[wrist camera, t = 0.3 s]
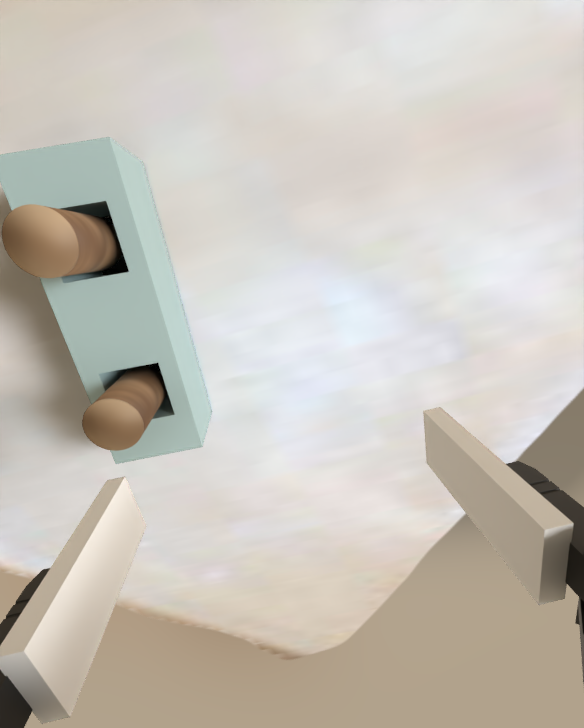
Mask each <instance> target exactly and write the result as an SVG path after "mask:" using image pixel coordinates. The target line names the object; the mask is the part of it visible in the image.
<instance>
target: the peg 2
mask: <svg viewBox="0 0 584 728" xmlns="http://www.w3.org/2000/svg"><path fill="white" fill-rule="evenodd" d="M166 395H167V389H166V386H165V383H164V379H163V376H162V374H161V373H160V372H159V371H157V370H156V369H154V368H152V367H148V366H138V367H133V368H131V369H129V370H128V371H126V372H125V373H124V374H123V375H122V376H121V377H120V378H119V379H118V380H117V381H116V382H115V383H114V384H113V385H112V386H111V387H110V388H108V389H107V390H106V391H105V392H104V393H103V394H102V395H101V396H100V397H99V398H98V399H97V400H96V401H95V402H94V403H93V404H92V405H91V406H90V407H89V408H88V409H87V410H86V411H85V413H84V415H83V420H82V425H83V429H84V432H85V434H86V435H87V437H88V438H89V439H90V440H91V441H92V442H93V443H94V444H96V445H97V446H99V447H101V448H104V449H107V450H114V451H119V450H125V449H128V448H130V447H132V446H133V445H135V444H136V443H137V442H138V441H139V440H140V438H141V436H142V435H143V433H144V431H145V430H146V428H147V426H148V425H149V423H150V422H151V420H152V418H153V417H154V415H155V413H156V412H157V410H158V408H159V407H160V405H161V404H162V402H163V400H164V399H165V397H166Z"/></svg>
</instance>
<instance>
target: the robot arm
mask: <svg viewBox="0 0 584 728" xmlns="http://www.w3.org/2000/svg"><path fill="white" fill-rule="evenodd" d="M423 414H424V429H425V444H426V459H427V464H428V465H429V467H430V468H431V469H432V470H433V472H434V473H435V474H436V475H437V477H438V478H439V479H440V481H441V482H442V483H443V484H444V486H445V487H446V488H447V489H448V491H449V492H450V493H451V494H452V496H453V497H454V498H455V500H456V501H457V502H458V503H459V505H460V506H461V507H462V508H463V510H464V511H465V512H466V514H467V515H468V516H469V517H470V518H471V520H472V521H473V522H474V523H475V525H476V526H477V527H478V529H479V530H480V531H481V533H482V534H483V535H484V536H485V538H486V539H487V540H488V541H489V543H490V544H491V545H492V546H493V548H494V549H495V550H496V552H497V553H498V554H499V555H500V557H501V558H502V559H503V560H504V562H505V563H506V564H507V566H508V567H509V568H510V569H511V570H512V572H513V573H514V574H515V576H516V577H517V578H518V580H519V581H520V582H521V583H522V585H523V586H524V587H525V588H526V590H527V591H528V592H529V593H530V595H531V596H532V597H533V599H534V600H535V601H536V602H537V604H538V605H541V604H545V603H549V602H553V601H558V600H562V599H565V592H566V584H568V585H569V586H570V587H571V588H572V589H573V591H574V592H575V593H576V594H577V595H578V596H579V601H578V609H577V616H576V624H579V625H580V639H581V652H582V666H583V682H584V507H582V506H581V505H580V504H579V503H577V502H576V501H575V500H574V499H573V498H571V497H570V496H569V495H567V494H566V493H565V492H564V491H562V490H560V489H559V487H557V486H556V485H555V484H554V483H552V482H551V481H550V482H549V480H548V479H547V478H546V477H545V476H544V475H542V474H541V473H540V472H538V471H537V470H536V469H534V468H532V467H530V466H528V465H526V464H523V463H521V462H519V461H517V462H512V463H508V464H505V463H504V462H503V461H502V460H500V459H499V458H498V457H497V456H496V455H495V454H494V453H492V452H491V451H490V450H489V449H488V448H487V447H485V446H484V445H483V444H482V443H481V442H480V441H479V440H477V439H476V438H475V437H474V436H473V435H472V434H471V433H469V432H468V431H467V430H466V429H465V428H464V427H462V426H461V425H460V424H459V423H458V422H457V421H456V420H454V419H453V418H452V417H451V416H450V415H449V414H448V413H446V412H445V411H444V410H443V409H442V408H441V407H439V408H434V409H430V410H425V411H423ZM145 529H146V524H145V521H144V519H143V517H142V514H141V512H140V510H139V508H138V505H137V503H136V501H135V498H134V496H133V494H132V491H131V489H130V487H129V484H128V482H127V480H126V478H125V477H121V478H116V479H112V480H107V482H106V483H105V485H104V486H103V488H102V489H101V491H100V492H99V494H98V495H97V497H96V499H95V500H94V502H93V503H92V505H91V506H90V508H89V509H88V511H87V512H86V514H85V516H84V517H83V519H82V520H81V522H80V523H79V525H78V526H77V528H76V529H75V531H74V533H73V534H72V536H71V537H70V539H69V540H68V542H67V543H66V545H65V546H64V548H63V550H62V551H61V553H60V554H59V556H58V557H57V559H56V560H55V562H54V563H53V565H52V567H51V568H48V569H44V570H42V571H41V572H40V573H39V574H38V575H37V576H36V577H35V578H34V579H33V580H32V581H31V582H30V583H29V584H28V585H27V586H26V588H25V589H24V591H23V592H22V593H21V595H20V596H19V598H18V599H17V601H16V604H15V605H13V607H12V608H11V610H10V611H9V613H8V614H7V615H6V619H4V620H3V621H2V623H1V624H0V728H24V726H25V724H26V722H27V720H28V718H29V716H30V714H31V712H33V713H34V714H35V716H36V717H37V718H38V720H39V721H40V722H41V723H42V724H43V723H47V722H51V721H56V720H60V719H64V718H68V717H70V716H71V714H72V711H73V709H74V706H75V704H76V701H77V699H78V696H79V694H80V691H81V689H82V686H83V684H84V681H85V679H86V676H87V674H88V671H89V669H90V666H91V664H92V661H93V659H94V656H95V654H96V651H97V649H98V646H99V644H100V641H101V639H102V636H103V634H104V631H105V629H106V626H107V624H108V621H109V619H110V616H111V613H112V611H113V609H114V606H115V604H116V601H117V599H118V596H119V594H120V591H121V589H122V586H123V584H124V581H125V579H126V576H127V574H128V571H129V569H130V566H131V564H132V561H133V559H134V556H135V554H136V551H137V549H138V546H139V544H140V541H141V539H142V536H143V534H144V531H145Z"/></svg>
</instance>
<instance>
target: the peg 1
mask: <svg viewBox="0 0 584 728" xmlns="http://www.w3.org/2000/svg"><path fill="white" fill-rule="evenodd" d="M2 239H3V243H4V246H5V249H6V251H7V253H8V255H9V256H10V258H11V259H12V260H13V261H14V262H15V263H16V264H17V265H18V266H19V267H20V268H21V269H23V270H24V271H26V272H27V273H29V274H31V275H34V276H37V277H41V278H56V277H63V276H69V275H76V274H82V273H89V272H95V271H102V270H107V269H109V268H111V267H113V266H114V265H116V264H117V262H118V261H119V259H120V257H121V255H122V248H121V245H120V242H119V239H118V236H117V233H116V230H115V227H114V226H113V225H112V224H111V223H109V222H108V221H107V220H105V219H103V218H101V217H98V216H94V215H89V214H83V213H78V212H73V211H68V210H62V209H57V208H52V207H47V206H41V205H36V204H28V205H23V206H20V207H17V208H15V209H14V210H12V211H11V212H10V213H9V214H8V216H7V217H6V219H5V221H4V223H3V228H2Z"/></svg>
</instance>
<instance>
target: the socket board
mask: <svg viewBox="0 0 584 728" xmlns="http://www.w3.org/2000/svg"><path fill="white" fill-rule="evenodd" d="M0 183H1V185H2V188H3V190H4V193H5V195H6V197H7V200H8V202H9V205H10V207H11V210H14V209H15V208H17V207H20V206H23V205H28V204H36V205H41V206H47V207H52V208H57V209H62V210H68V211H73V212H78V213H83V214H89V215H94V216H98V217H105V216H111V217H112V220H113V223H114V227H115V230H116V233H117V236H118V239H119V242H120V245H121V248H122V252H123V255H124V258H125V261H126V264H127V267H128V270H129V271H128V272H122V273H117V274H111V275H105V276H103V273H102V271H95V272H89V273H82V274H76V275H69V276H63V277H56V278H41V277H39V278H40V280H41V283H42V285H43V288H44V290H45V293H46V295H47V297H48V300H49V302H50V305H51V307H52V310H53V312H54V314H55V317H56V319H57V322H58V324H59V327H60V329H61V332H62V334H63V336H64V339H65V341H66V344H67V346H68V349H69V351H70V353H71V356H72V358H73V361H74V363H75V366H76V368H77V371H78V373H79V375H80V378H81V380H82V383H83V385H84V388H85V390H86V392H87V395H88V397H89V400H90V402H91V405H92V404H93V403H94V402H95V401H96V400H97V399H98V398H99V397H100V396H101V395H102V394H103V393H104V392H105V391H106V390H107V389H108V388H110V387H111V386H112V385H113V384H114V383H115V382H116V381H117V380H118V379H119V378H120V377H121V376H122V375H123V374H124V373H125V372H126V371H128V370H129V369H131V368H133V367H138V366H143V365H148V364H154V363H158V364H159V367H160V370H161V373H162V376H163V379H164V383H165V386H166V389H167V395H166V397H165V399H164V400H163V402H162V404H161V405H160V407H159V408H158V410H157V412H156V413H155V415H154V417H153V418H152V420H151V422H150V423H149V425H148V426H147V428H146V430H145V431H144V433H143V435H142V436H141V438H140V440H139V441H138V442H137V443H136V444H135V445H133V446H132V447H130V448H128V449H125V450H119V451H114V450H110V451H111V453H112V456H113V458H114V461H115V463H116V464H119V463H124V462H129V461H134V460H139V459H144V458H149V457H154V456H159V455H164V454H169V453H174V452H180V451H185V450H190V449H195V448H200V447H203V443H204V439H205V436H206V432H207V428H208V425H209V421H210V417H211V414H212V410H211V406H210V403H209V399H208V396H207V392H206V388H205V385H204V381H203V378H202V374H201V370H200V367H199V363H198V360H197V356H196V352H195V349H194V345H193V341H192V338H191V334H190V331H189V327H188V323H187V320H186V316H185V313H184V309H183V305H182V302H181V298H180V295H179V291H178V287H177V284H176V280H175V277H174V273H173V269H172V266H171V262H170V259H169V255H168V251H167V248H166V244H165V240H164V237H163V233H162V230H161V226H160V222H159V219H158V215H157V212H156V208H155V204H154V201H153V197H152V194H151V190H150V186H149V183H148V179H147V176H146V172H145V168H144V165H143V162H142V161H141V160H140V159H138V158H137V157H136V156H134V155H133V154H132V153H130V152H129V151H128V150H126V149H125V148H124V147H122V146H121V145H120V144H118V143H117V142H115V141H114V140H113V139H111V138H110V137H106V138H100V139H94V140H87V141H81V142H75V143H69V144H63V145H57V146H51V147H44V148H38V149H32V150H26V151H20V152H14V153H7V154H1V155H0Z"/></svg>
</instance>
